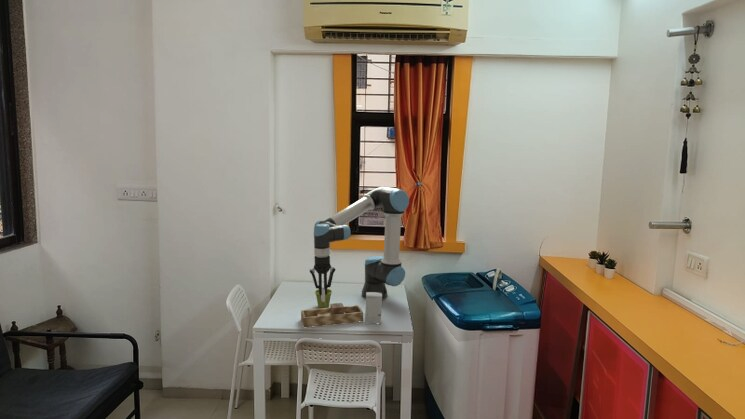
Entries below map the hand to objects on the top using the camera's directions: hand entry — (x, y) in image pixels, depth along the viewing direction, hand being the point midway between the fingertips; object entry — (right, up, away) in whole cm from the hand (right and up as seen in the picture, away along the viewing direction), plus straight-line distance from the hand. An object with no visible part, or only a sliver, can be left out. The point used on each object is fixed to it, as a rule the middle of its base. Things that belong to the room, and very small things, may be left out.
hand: (323, 300), depth 227 cm
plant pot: (-2, -8, +22) cm, 23 cm away
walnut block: (+7, -8, +3) cm, 11 cm away
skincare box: (+25, -11, +3) cm, 28 cm away
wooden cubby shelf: (+4, -11, +3) cm, 12 cm away
